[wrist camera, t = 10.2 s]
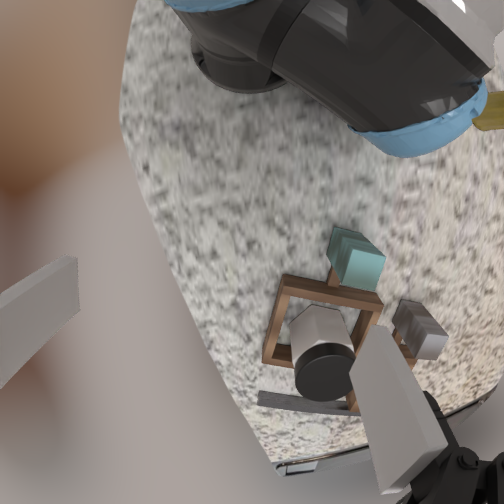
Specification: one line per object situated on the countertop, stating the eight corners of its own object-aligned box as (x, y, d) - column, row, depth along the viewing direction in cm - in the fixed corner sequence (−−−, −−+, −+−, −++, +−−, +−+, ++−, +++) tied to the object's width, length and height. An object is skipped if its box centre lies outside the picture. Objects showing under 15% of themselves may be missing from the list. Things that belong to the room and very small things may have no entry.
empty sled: (392, 297, 42) (417, 332, 32) (428, 304, 42) (457, 337, 32) (345, 396, 48) (355, 437, 39) (379, 398, 48) (392, 436, 39)
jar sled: (296, 217, 39) (304, 237, 30) (393, 242, 39) (424, 266, 30) (262, 347, 46) (259, 390, 36) (347, 360, 46) (359, 402, 36)
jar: (312, 359, 46) (321, 412, 35) (278, 331, 45) (278, 384, 33) (355, 325, 44) (376, 374, 32) (321, 293, 42) (336, 340, 31)
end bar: (259, 390, 49) (259, 399, 47) (383, 403, 49) (386, 411, 47) (257, 396, 49) (257, 405, 47) (380, 408, 49) (383, 416, 47)
